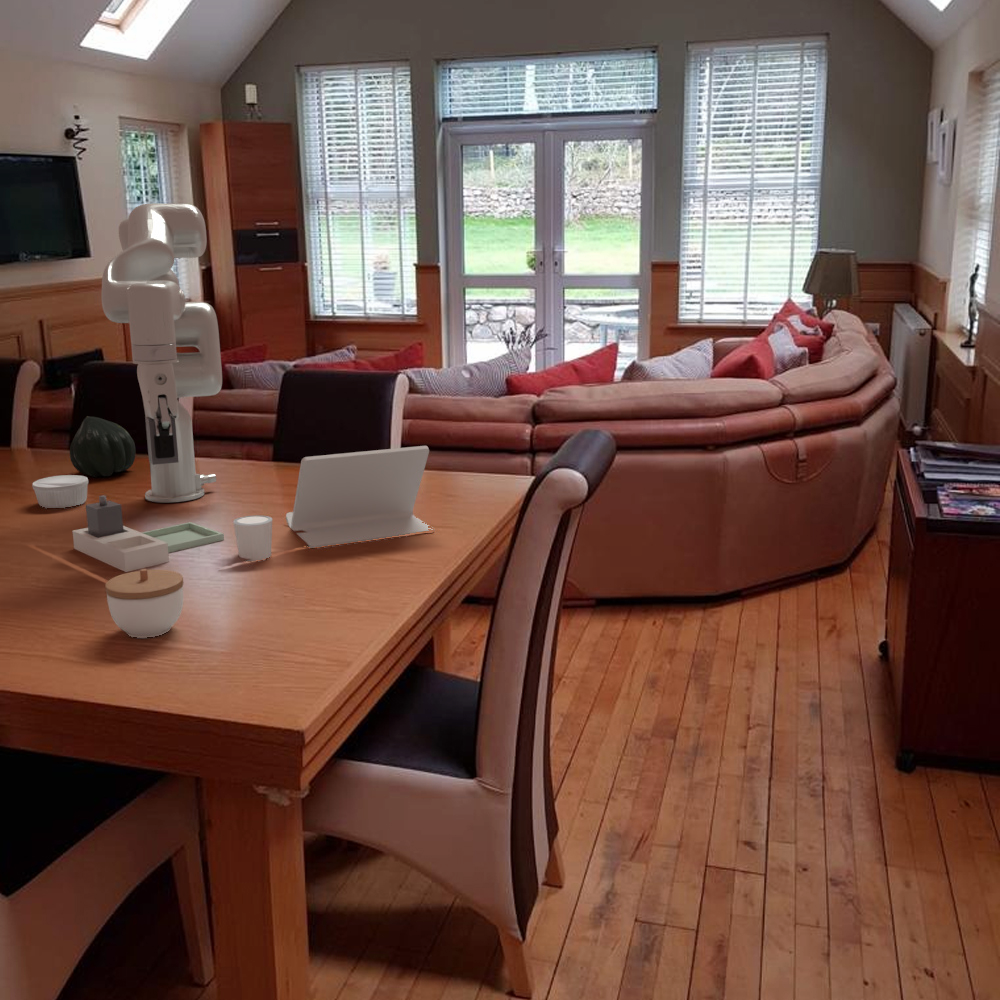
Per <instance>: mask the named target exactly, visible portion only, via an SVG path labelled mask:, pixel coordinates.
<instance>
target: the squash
mask: <svg viewBox="0 0 1000 1000" xmlns="http://www.w3.org/2000/svg"><path fill="white" fill-rule="evenodd" d="M69 458H70V462H71V465H72V466H73V467H74V469H76V470H77V471H78V472H79V473H80V474H82V475H86V476H90V477H93V478H98V477H97V476H99V477H101V476H102V477H105V478H107V477H110V476H112V475H113V473H122V472H125V471H127V470H128V469H130V468H131V467H132V466H133V464H134V462H135V460H136V445H135V441H134V439H133V438H132V437H131V435H130V433H129V431H127V430H126V429H125V428H124V427H122V426H121V425H119V424H118V423H115V422H113V421H111V420H106V419H103V418H101V417H97V416H90V415H89V416H88V415H87V416H85V418H83V420H82V422H81V424H80V426H79V428H78V429H77V431H76V433H75V435H74V437H73V439H72V441H71V443H70V446H69ZM106 476H107V477H106Z"/></svg>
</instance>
